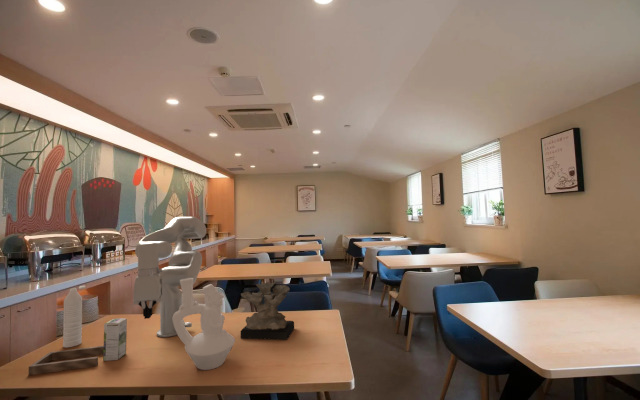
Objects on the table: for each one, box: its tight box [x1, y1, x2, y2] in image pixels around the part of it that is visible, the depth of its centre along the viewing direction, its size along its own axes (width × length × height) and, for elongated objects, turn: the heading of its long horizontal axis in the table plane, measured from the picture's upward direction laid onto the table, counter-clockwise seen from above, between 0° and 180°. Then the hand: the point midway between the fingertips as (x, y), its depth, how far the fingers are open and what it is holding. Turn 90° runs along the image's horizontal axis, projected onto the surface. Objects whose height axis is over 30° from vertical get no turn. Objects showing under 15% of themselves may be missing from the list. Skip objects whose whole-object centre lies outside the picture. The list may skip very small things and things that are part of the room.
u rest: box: [28, 345, 104, 376], centre depth 117 cm, size 21×12×3 cm, turn 104°
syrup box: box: [102, 317, 128, 362], centre depth 121 cm, size 6×6×14 cm
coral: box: [239, 281, 295, 341], centre depth 144 cm, size 25×20×22 cm
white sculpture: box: [172, 278, 236, 371], centre depth 113 cm, size 18×22×32 cm
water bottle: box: [62, 285, 87, 349], centre depth 136 cm, size 9×6×25 cm
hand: (147, 317), depth 123 cm, fingers closed
